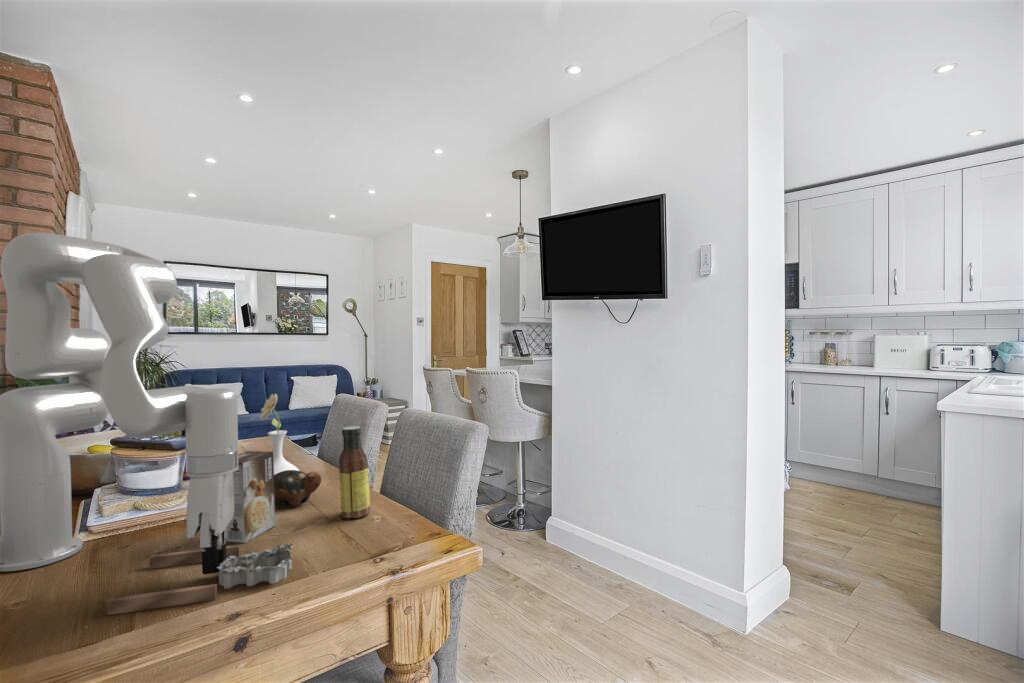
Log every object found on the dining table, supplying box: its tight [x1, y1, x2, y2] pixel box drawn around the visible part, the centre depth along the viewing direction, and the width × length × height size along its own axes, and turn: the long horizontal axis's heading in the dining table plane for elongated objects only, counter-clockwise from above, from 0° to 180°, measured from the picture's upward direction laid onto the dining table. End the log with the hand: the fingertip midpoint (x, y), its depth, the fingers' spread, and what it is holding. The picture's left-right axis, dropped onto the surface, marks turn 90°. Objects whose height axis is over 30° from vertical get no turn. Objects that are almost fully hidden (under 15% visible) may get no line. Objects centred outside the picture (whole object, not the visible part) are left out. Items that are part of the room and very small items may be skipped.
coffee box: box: [226, 450, 276, 544], centre depth 102 cm, size 9×6×16 cm
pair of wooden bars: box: [106, 544, 241, 616], centre depth 82 cm, size 14×16×2 cm
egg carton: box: [216, 543, 294, 589], centre depth 84 cm, size 11×8×4 cm
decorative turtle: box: [274, 470, 322, 508], centre depth 120 cm, size 10×15×8 cm, turn 89°
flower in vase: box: [258, 393, 300, 475], centre depth 137 cm, size 13×11×25 cm
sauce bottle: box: [338, 425, 371, 519], centre depth 112 cm, size 6×6×20 cm
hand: (214, 570), depth 83 cm, fingers closed
